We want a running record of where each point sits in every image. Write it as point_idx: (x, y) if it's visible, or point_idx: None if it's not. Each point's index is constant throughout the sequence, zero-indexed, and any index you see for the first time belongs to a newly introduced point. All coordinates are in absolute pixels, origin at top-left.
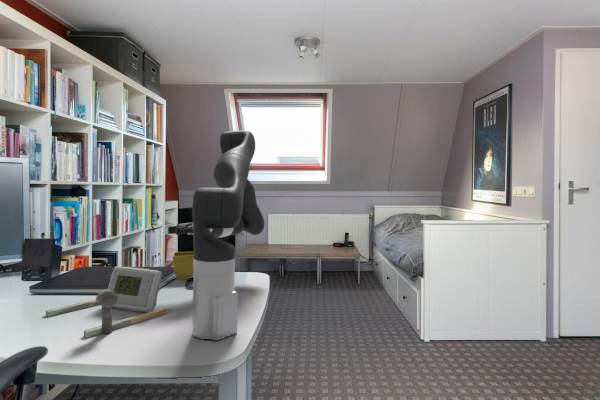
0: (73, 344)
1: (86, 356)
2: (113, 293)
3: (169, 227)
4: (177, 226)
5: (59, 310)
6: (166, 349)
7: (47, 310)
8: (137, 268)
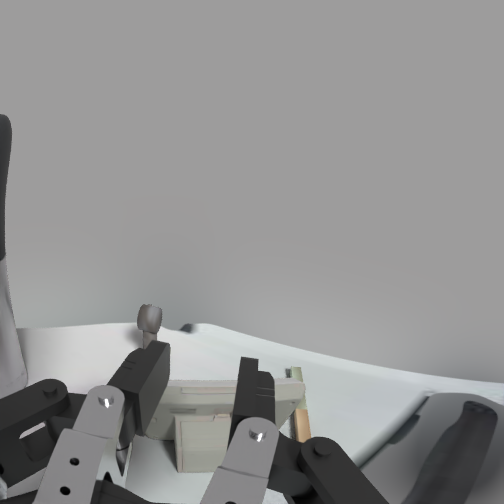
0: (160, 340)
1: (122, 328)
2: (139, 311)
3: (243, 358)
4: (235, 399)
5: (291, 377)
6: (46, 344)
7: (299, 368)
8: (223, 385)
